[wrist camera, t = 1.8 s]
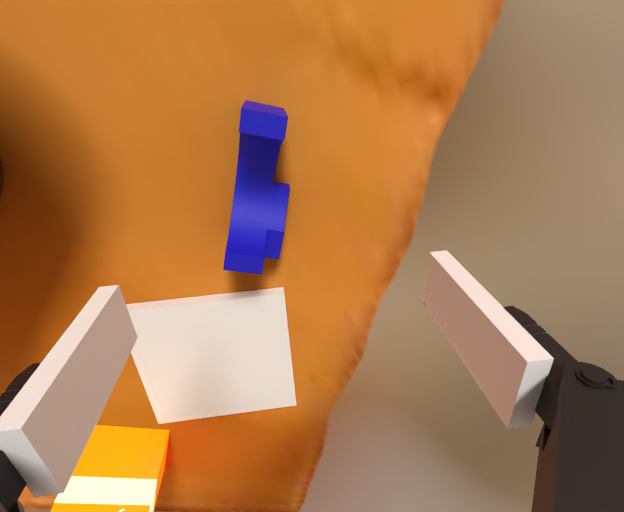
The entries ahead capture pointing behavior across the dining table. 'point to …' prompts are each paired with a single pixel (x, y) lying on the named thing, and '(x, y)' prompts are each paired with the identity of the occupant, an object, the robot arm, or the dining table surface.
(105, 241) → the dining table surface
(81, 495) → the orange juice
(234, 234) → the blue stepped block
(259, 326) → the white pad
